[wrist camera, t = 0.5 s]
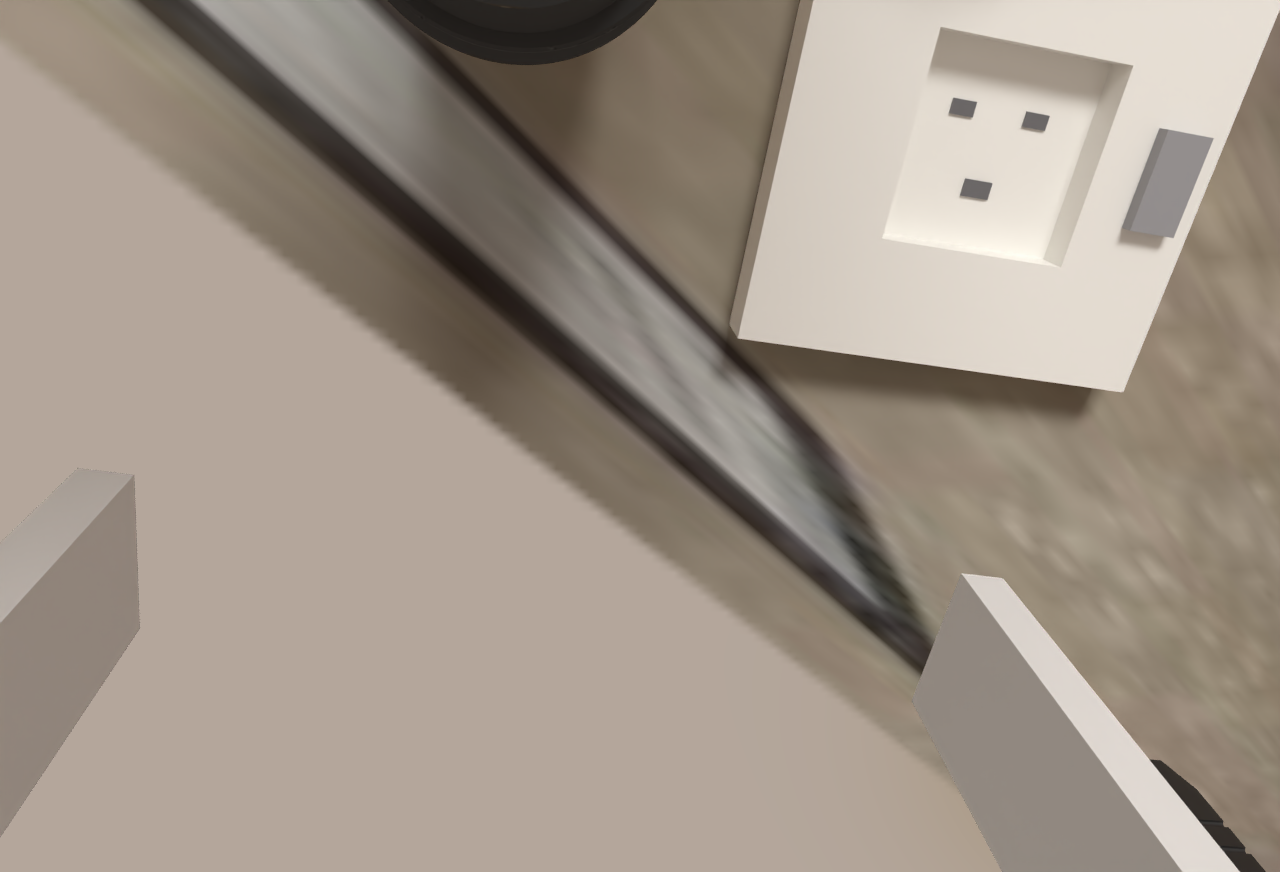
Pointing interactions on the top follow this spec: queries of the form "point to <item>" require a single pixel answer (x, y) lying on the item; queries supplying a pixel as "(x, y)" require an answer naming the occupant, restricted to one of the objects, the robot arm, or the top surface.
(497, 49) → the coffee cup
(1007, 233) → the socket plate
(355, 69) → the top surface
